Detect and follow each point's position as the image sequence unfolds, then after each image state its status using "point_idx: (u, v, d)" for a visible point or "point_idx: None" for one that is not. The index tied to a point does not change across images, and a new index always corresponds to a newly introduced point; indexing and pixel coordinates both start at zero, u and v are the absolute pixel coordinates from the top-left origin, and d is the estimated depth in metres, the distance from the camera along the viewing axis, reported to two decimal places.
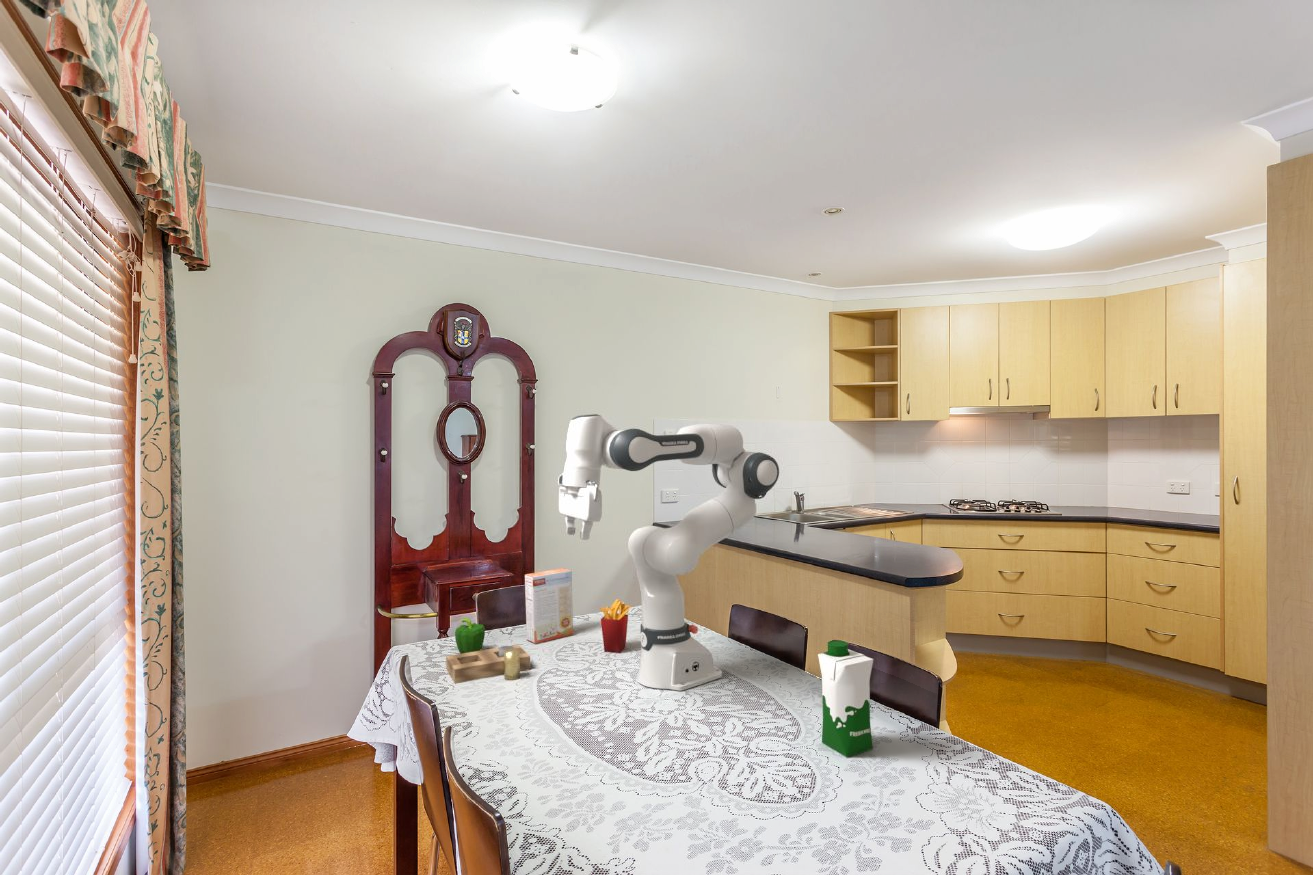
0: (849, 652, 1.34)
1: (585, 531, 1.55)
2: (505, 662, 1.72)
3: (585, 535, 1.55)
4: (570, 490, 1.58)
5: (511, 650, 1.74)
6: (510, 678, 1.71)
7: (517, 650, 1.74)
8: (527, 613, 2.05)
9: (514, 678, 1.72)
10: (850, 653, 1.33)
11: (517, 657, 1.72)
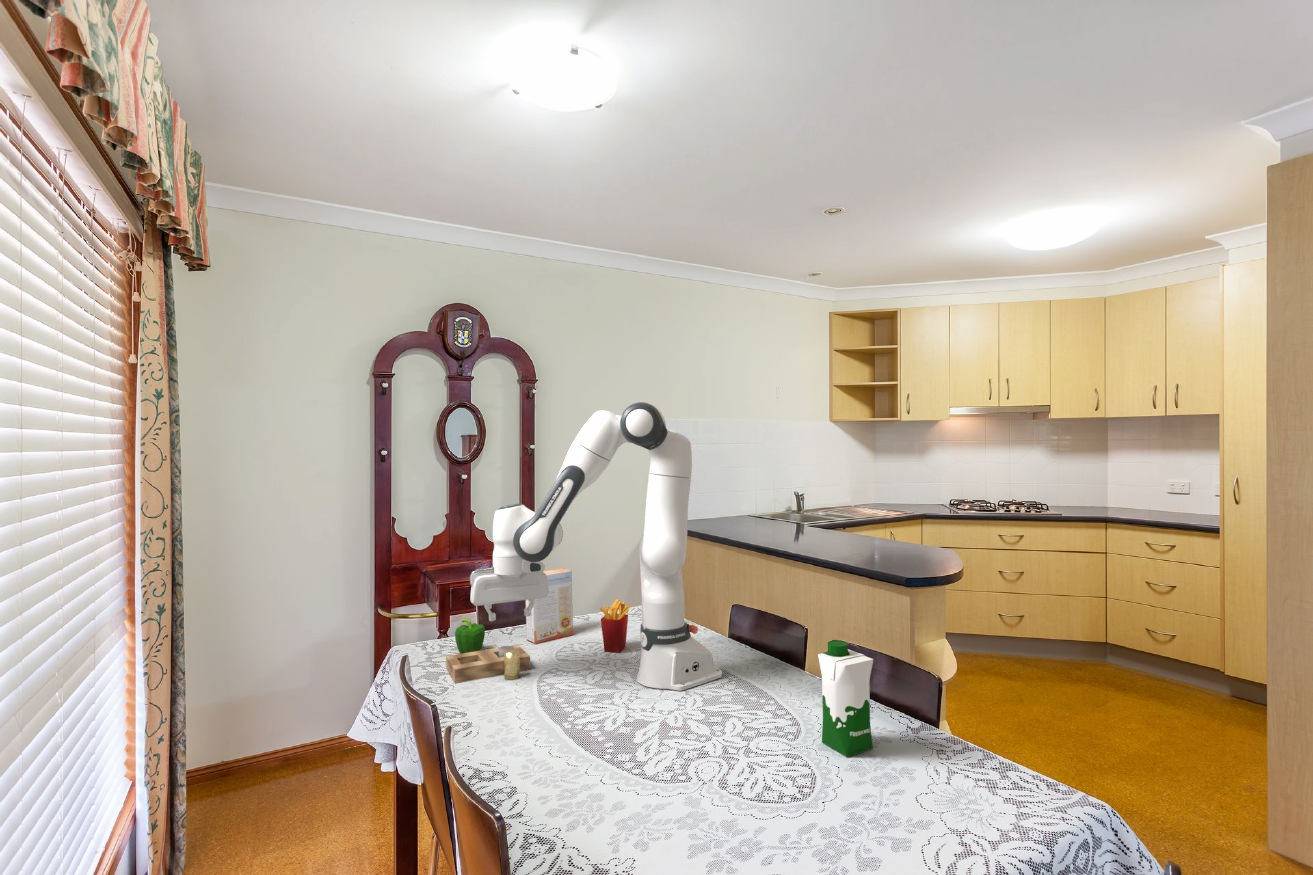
0: (849, 652, 1.34)
1: (488, 613, 1.71)
2: (505, 662, 1.72)
3: (489, 617, 1.71)
4: None
5: (511, 650, 1.74)
6: (510, 678, 1.71)
7: (517, 650, 1.74)
8: None
9: (514, 678, 1.72)
10: (850, 653, 1.33)
11: (517, 657, 1.72)
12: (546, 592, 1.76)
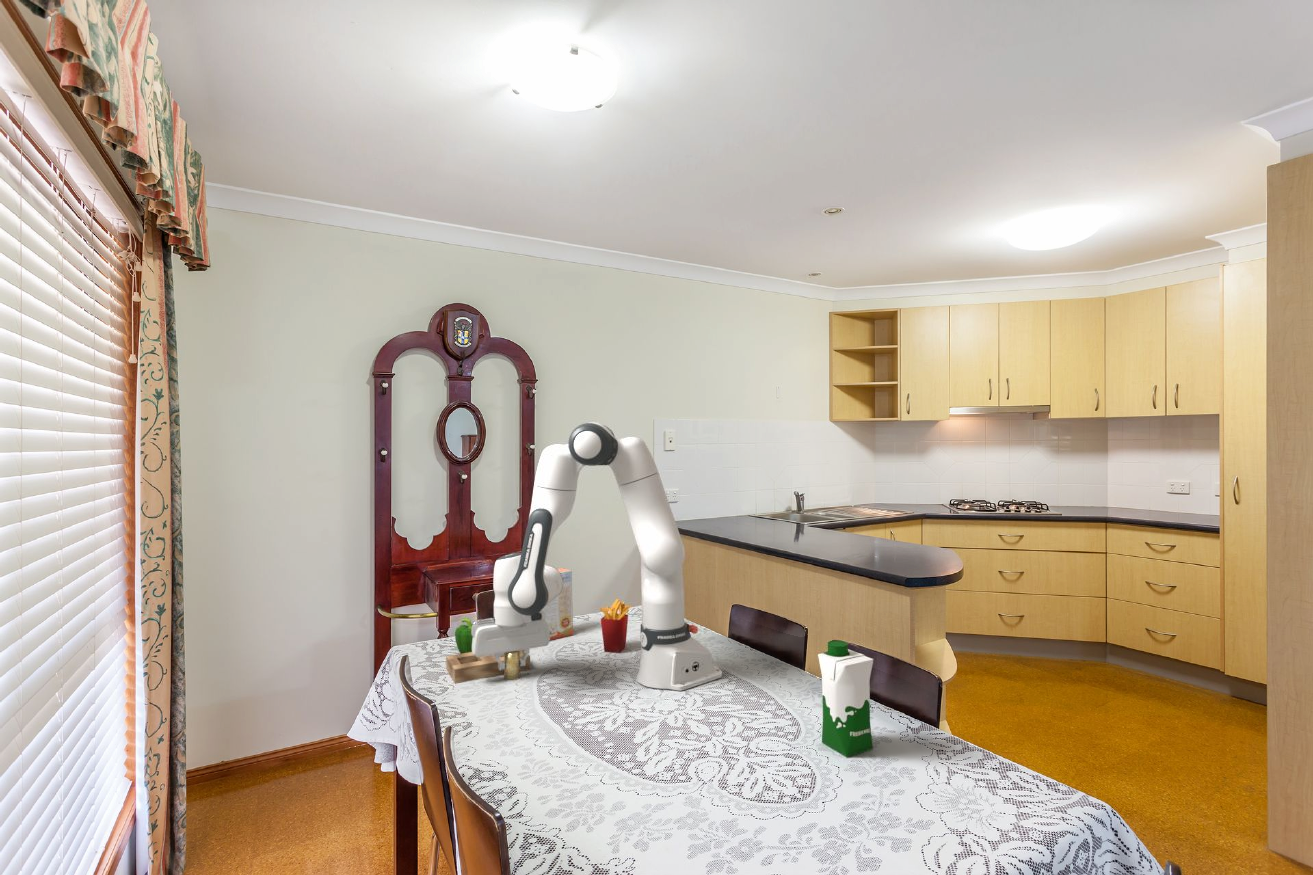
0: (849, 652, 1.34)
1: None
2: (505, 662, 1.72)
3: (498, 665, 1.72)
4: None
5: None
6: (510, 678, 1.71)
7: None
8: None
9: (514, 678, 1.72)
10: (850, 653, 1.33)
11: (517, 657, 1.72)
12: (547, 640, 1.76)
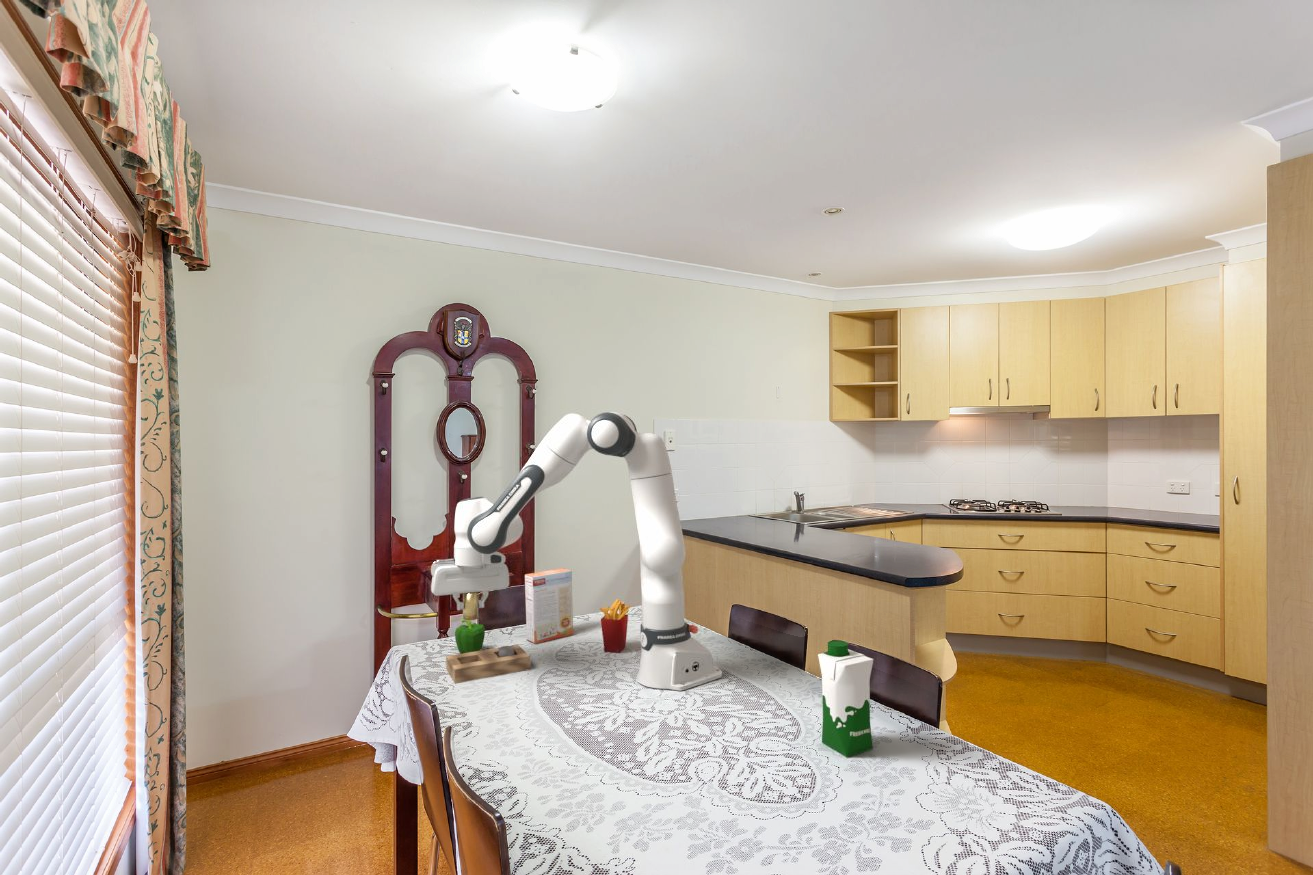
0: (849, 652, 1.34)
1: (456, 602, 1.76)
2: (464, 602, 1.76)
3: (457, 606, 1.75)
4: None
5: None
6: (468, 618, 1.75)
7: (476, 592, 1.77)
8: (527, 613, 2.05)
9: (472, 618, 1.75)
10: (850, 653, 1.33)
11: (475, 598, 1.76)
12: (507, 584, 1.80)
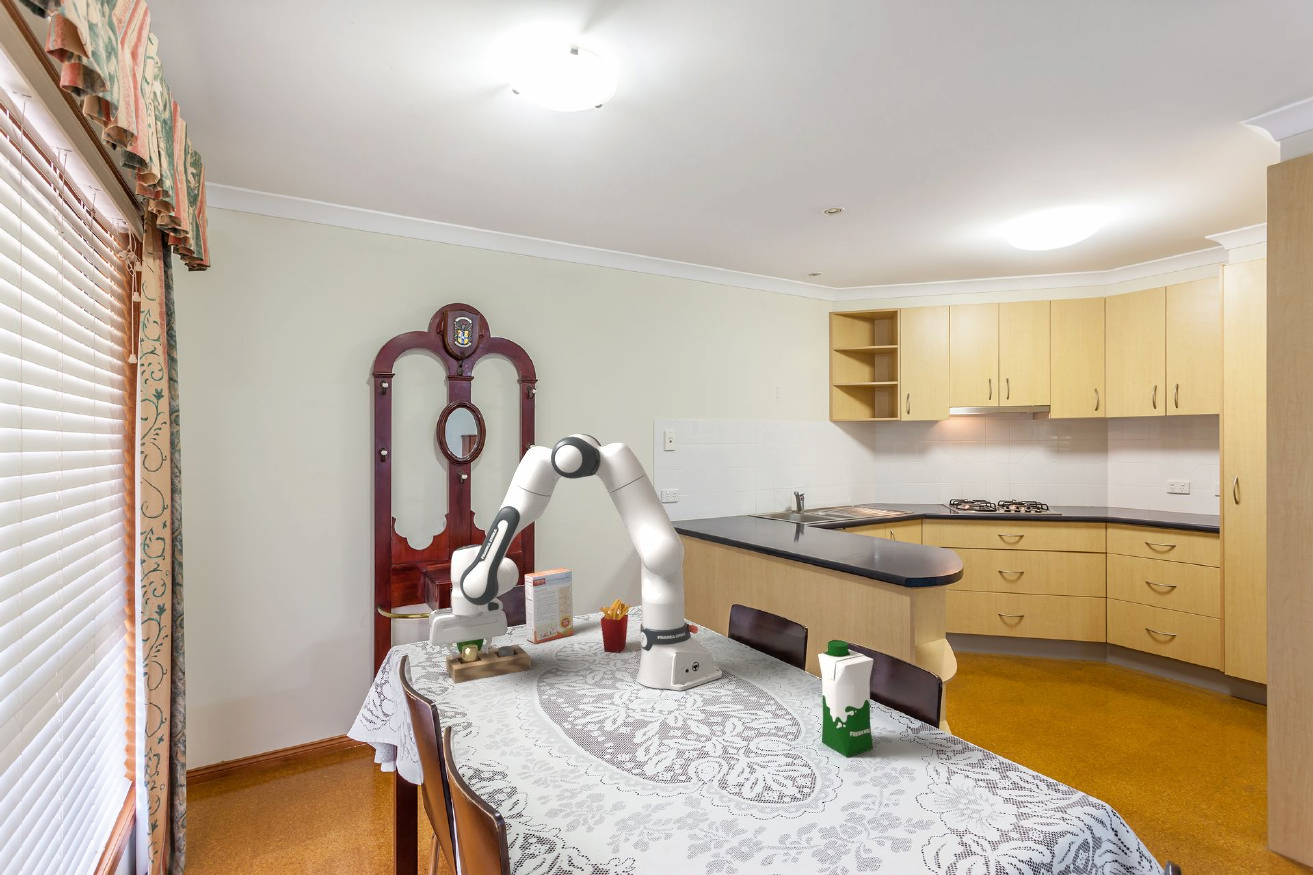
0: (849, 652, 1.34)
1: None
2: (463, 657, 1.76)
3: (450, 655, 1.75)
4: None
5: (469, 646, 1.78)
6: None
7: (475, 646, 1.78)
8: (527, 613, 2.05)
9: None
10: (850, 653, 1.33)
11: (474, 652, 1.77)
12: (505, 630, 1.80)
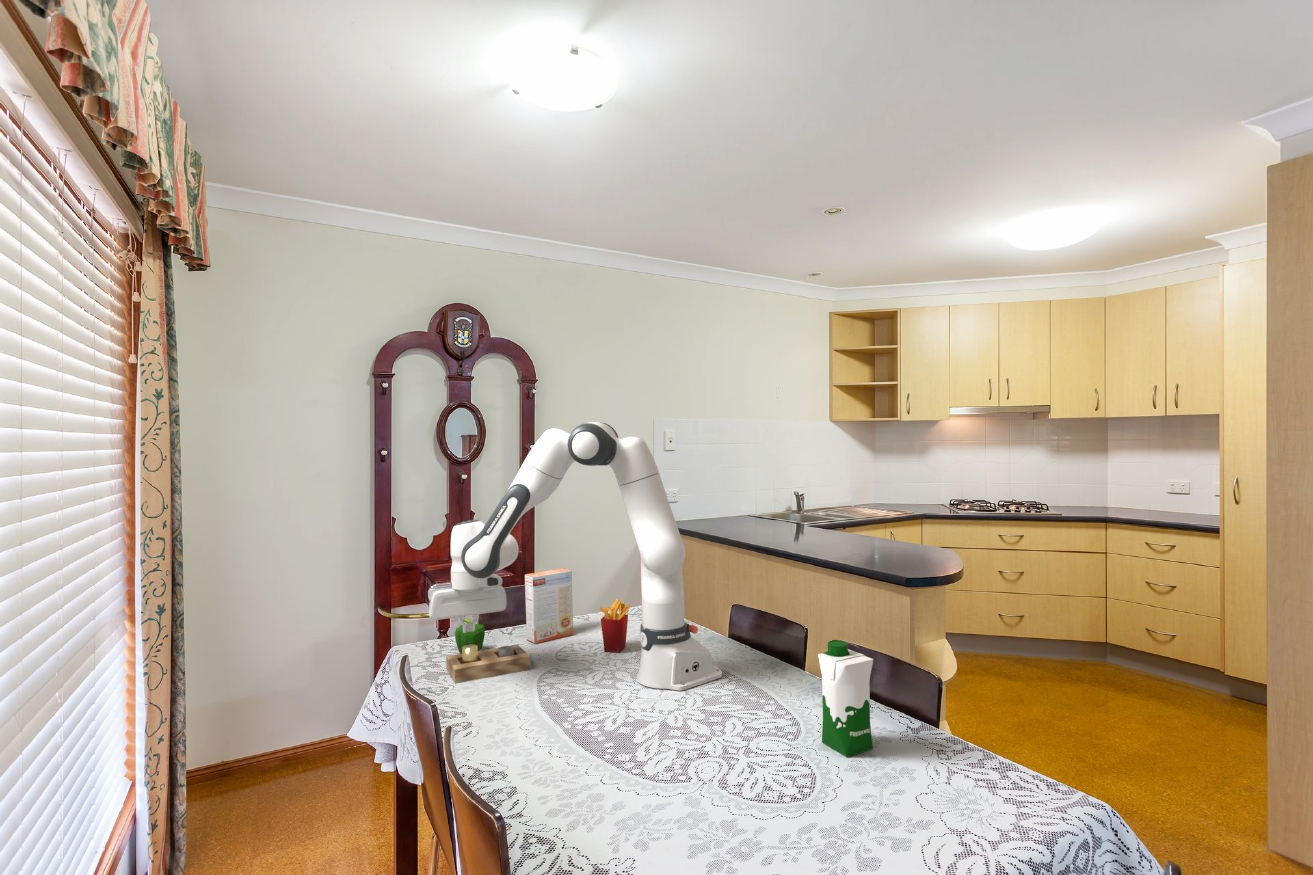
0: (849, 652, 1.34)
1: None
2: (463, 657, 1.76)
3: (463, 628, 1.77)
4: None
5: (469, 646, 1.78)
6: None
7: (475, 646, 1.78)
8: (527, 613, 2.05)
9: None
10: (850, 653, 1.33)
11: (474, 652, 1.77)
12: (504, 605, 1.80)
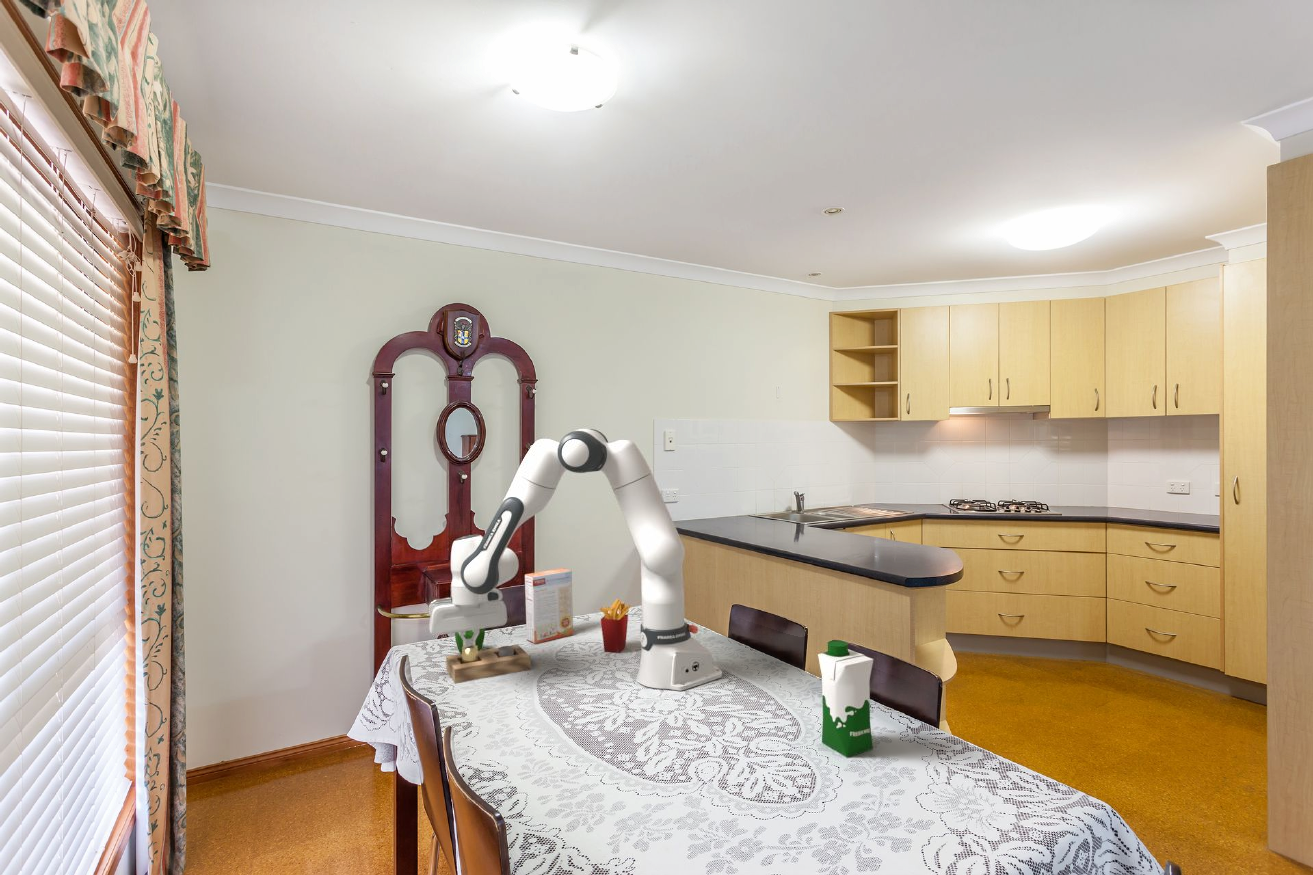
0: (849, 652, 1.34)
1: (462, 639, 1.77)
2: (463, 657, 1.76)
3: (463, 643, 1.77)
4: None
5: None
6: None
7: (475, 646, 1.78)
8: (527, 613, 2.05)
9: None
10: (850, 653, 1.33)
11: (474, 652, 1.77)
12: (505, 620, 1.80)
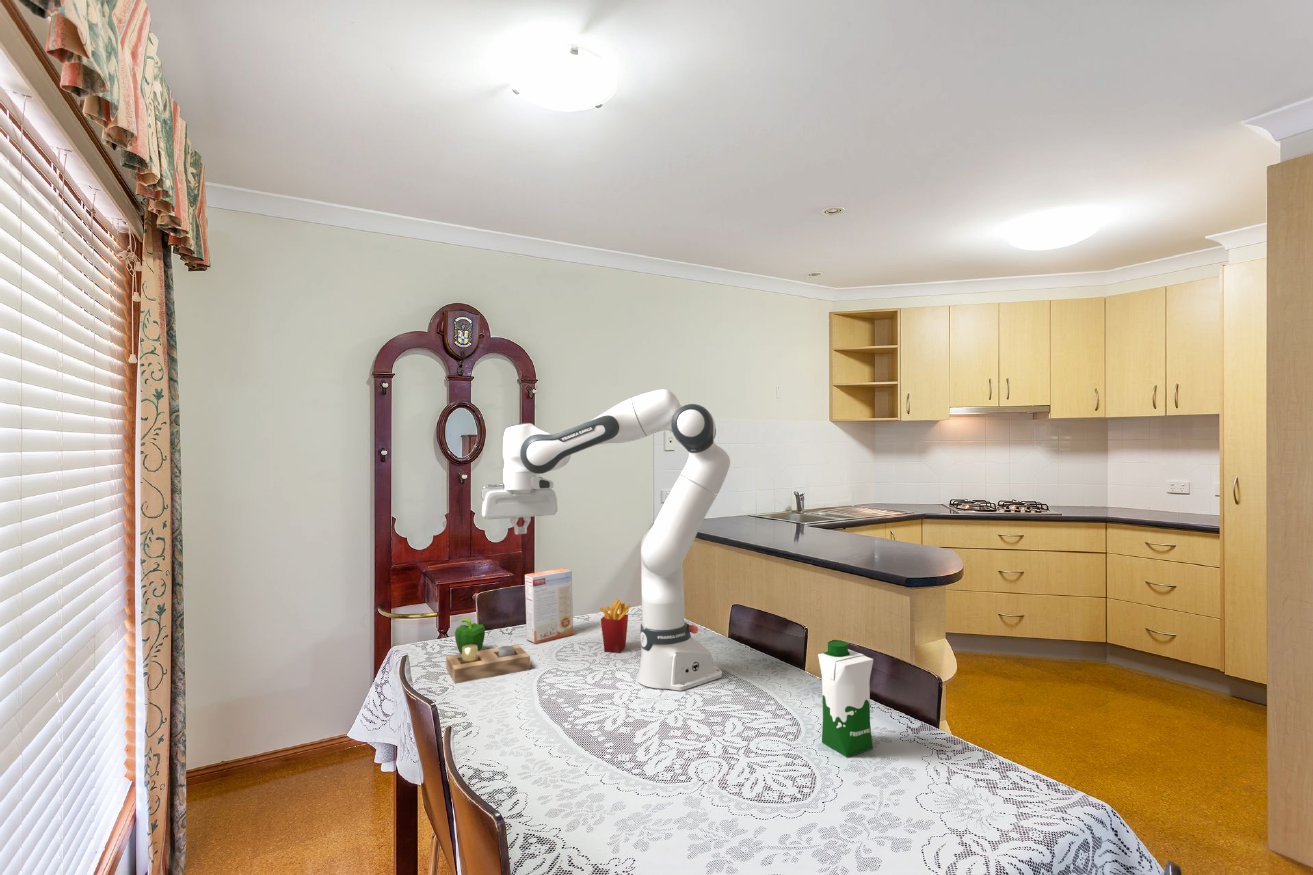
0: (849, 652, 1.34)
1: (514, 527, 1.78)
2: (463, 657, 1.76)
3: (515, 530, 1.78)
4: None
5: (469, 646, 1.78)
6: None
7: (475, 646, 1.78)
8: (527, 613, 2.05)
9: None
10: (850, 653, 1.33)
11: (474, 652, 1.76)
12: (555, 509, 1.81)
